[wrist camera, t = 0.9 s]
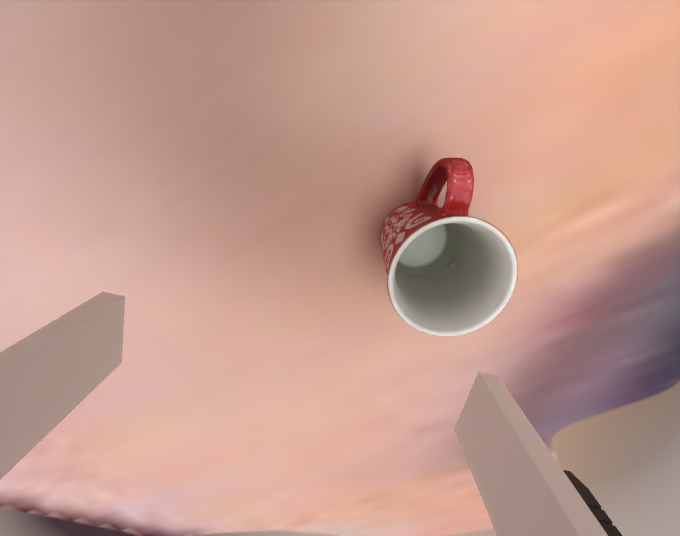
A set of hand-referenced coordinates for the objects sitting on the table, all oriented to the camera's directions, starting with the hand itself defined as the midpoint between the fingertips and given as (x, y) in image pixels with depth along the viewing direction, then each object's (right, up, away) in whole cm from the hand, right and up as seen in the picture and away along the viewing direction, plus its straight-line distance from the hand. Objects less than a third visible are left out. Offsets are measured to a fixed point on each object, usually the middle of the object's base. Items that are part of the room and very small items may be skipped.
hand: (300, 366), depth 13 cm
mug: (+10, +9, +24) cm, 27 cm away
